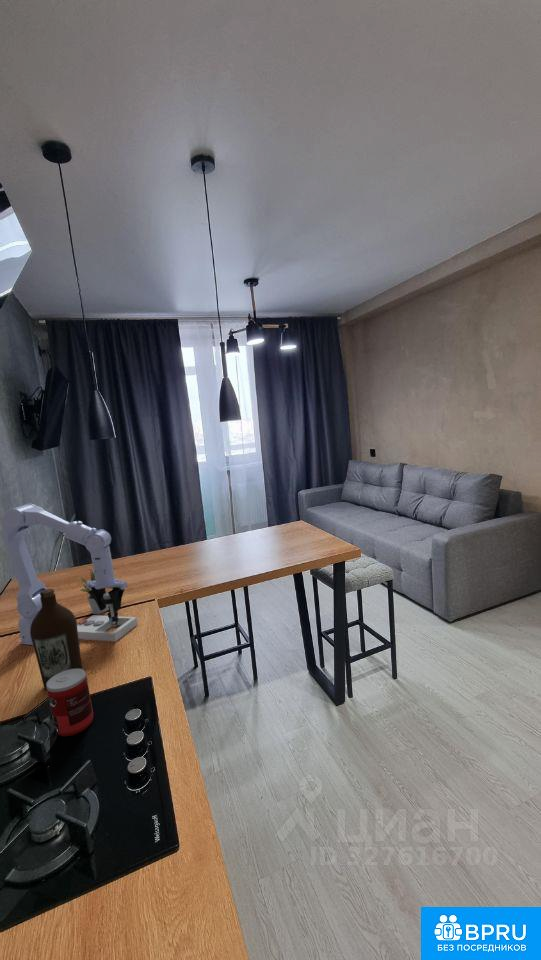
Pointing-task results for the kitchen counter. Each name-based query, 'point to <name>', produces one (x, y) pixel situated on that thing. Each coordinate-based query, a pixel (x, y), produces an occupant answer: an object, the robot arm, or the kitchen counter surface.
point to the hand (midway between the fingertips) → (110, 609)
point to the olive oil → (55, 638)
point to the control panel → (104, 628)
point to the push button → (110, 609)
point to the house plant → (91, 600)
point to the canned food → (70, 701)
